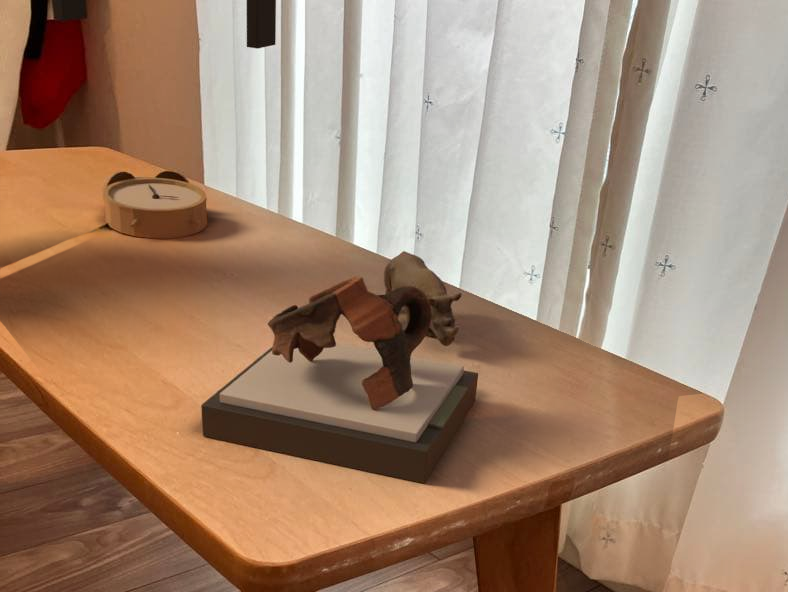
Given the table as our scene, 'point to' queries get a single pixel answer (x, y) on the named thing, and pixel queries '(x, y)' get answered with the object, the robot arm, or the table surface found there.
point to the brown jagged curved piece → (359, 331)
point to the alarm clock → (154, 205)
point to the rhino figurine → (416, 274)
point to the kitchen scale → (343, 411)
